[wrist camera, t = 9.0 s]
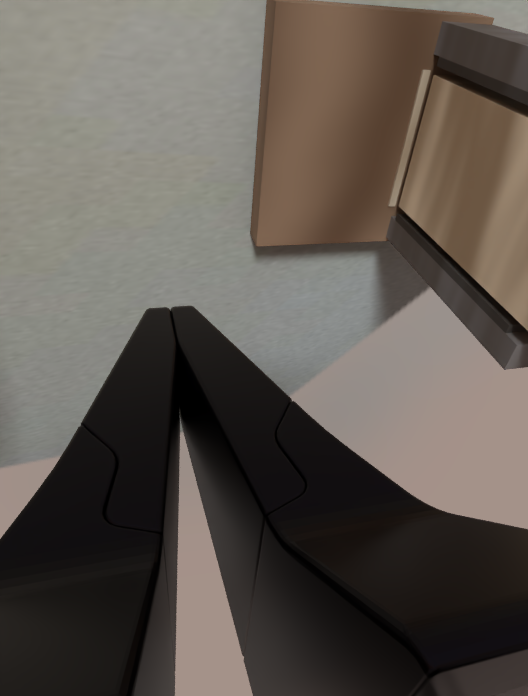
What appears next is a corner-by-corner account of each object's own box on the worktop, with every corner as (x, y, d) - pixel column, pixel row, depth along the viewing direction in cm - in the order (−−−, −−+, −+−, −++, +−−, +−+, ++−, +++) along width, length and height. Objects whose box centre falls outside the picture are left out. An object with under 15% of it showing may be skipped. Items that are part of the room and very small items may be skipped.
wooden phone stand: (250, 233, 22) (325, 395, 14) (267, -3, 16) (401, 58, 9) (412, 227, 24) (553, 368, 16) (475, 13, 18) (732, 76, 11)
